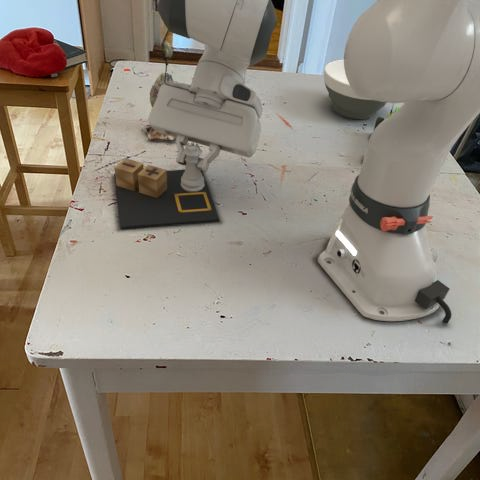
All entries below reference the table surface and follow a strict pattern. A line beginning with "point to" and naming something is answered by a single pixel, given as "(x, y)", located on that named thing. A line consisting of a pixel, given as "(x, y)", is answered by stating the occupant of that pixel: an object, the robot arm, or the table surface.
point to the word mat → (165, 205)
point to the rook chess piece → (192, 169)
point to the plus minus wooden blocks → (141, 177)
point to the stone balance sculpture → (155, 89)
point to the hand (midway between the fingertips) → (191, 166)
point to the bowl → (347, 94)
